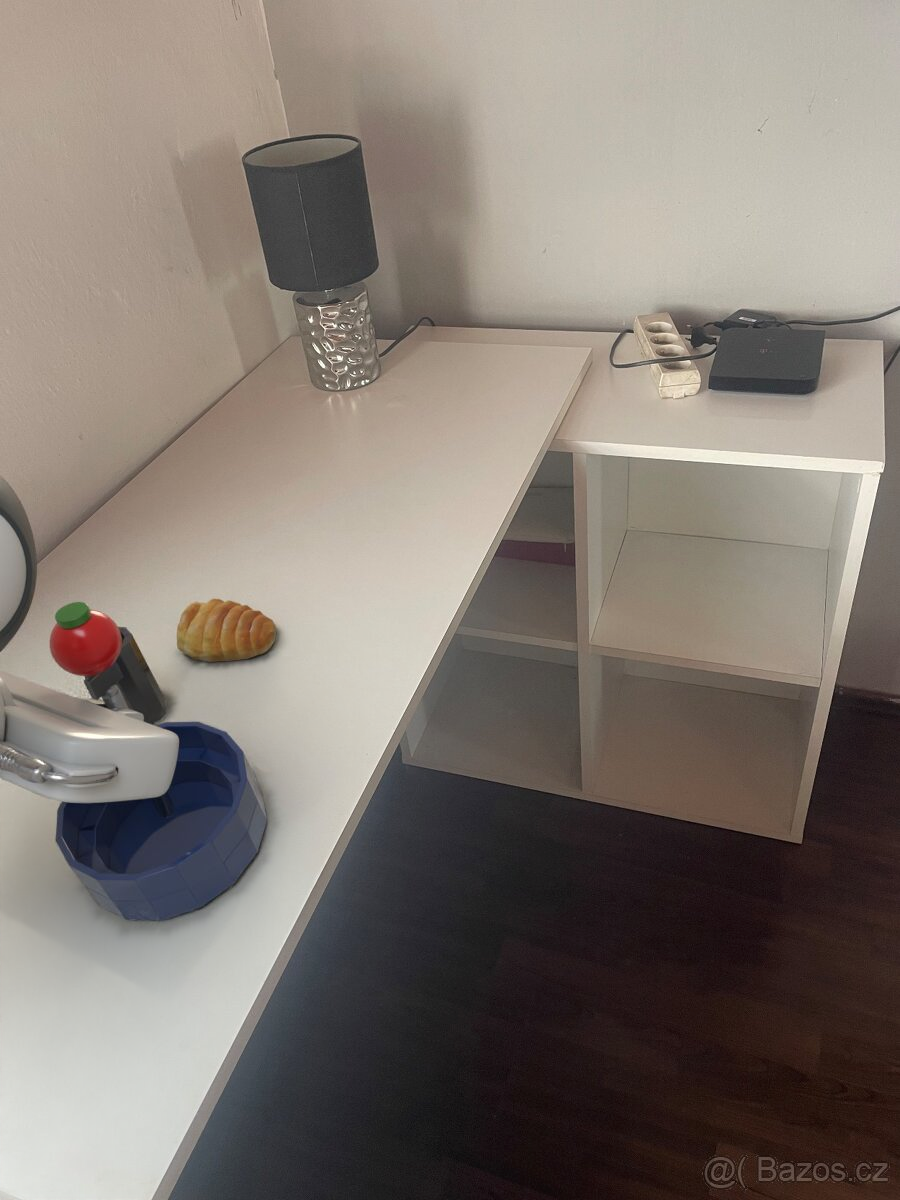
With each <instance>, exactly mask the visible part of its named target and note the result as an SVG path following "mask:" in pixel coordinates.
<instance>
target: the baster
mask: <svg viewBox="0 0 900 1200" xmlns="http://www.w3.org/2000/svg"><path fill="white" fill-rule="evenodd" d="M54 619H55V621H56V623H55V625H54V626H53V628H52V630H51V633H50V635H49V651H50V653H51V656H52V658H53V660H54V661H55V663H56V664H57V666H59V668H60V669H62V670H64V671H65V672H67V673H69V674H71V675H74V676H80V677H84V679H83V683H84V685H85V687H86V689H87V692H88V693H89V695H90V698H92V699H95V700H98V699H99V698H100V699H102V700H103V701H104V703H105V705H106V707H107V709H109V708H127V709H128V706H127V704H126V702H125V700H124V698H123V696H122V694H121V692H120V689H119V688H118V686H117V685H115V684H116V683H117V682H118V681H119V680H121V679H122V678H123V675H122V673H121V671H120V669H119V667H118V665H117V662H116V660H117V658H118V656H119V654H120V651H121V647H122V637H121V633H120V630H119V628H118V627H119V626H118V624H117V623H116V622H115V621H114V619H112V618H111V616H109V615H107V614H106V613H104V612H102V611H99V610H96V609H90V607H89V604H87V602H83V601H74V602H70V603H67V604H65V605H64V606H62V607H60V608H59V609H58V610H56V612H55V615H54ZM151 799H152V802H153V804H154V806H155V808H156V810H157V812H158V814H159V815H160V816H161V817H162V818H170V817H171V816H172V815H173V814H174V812H175V807H174V805H173V803H172V800H171V798H170V796H169V794H168V792H167V791H166V793H164V794H163V795H161V796H158V797H154V798H151Z"/></svg>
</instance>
